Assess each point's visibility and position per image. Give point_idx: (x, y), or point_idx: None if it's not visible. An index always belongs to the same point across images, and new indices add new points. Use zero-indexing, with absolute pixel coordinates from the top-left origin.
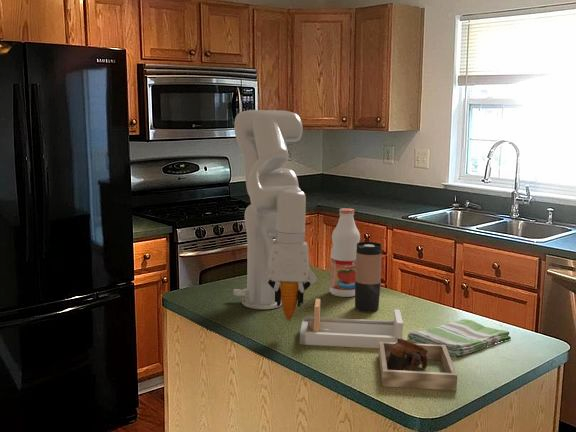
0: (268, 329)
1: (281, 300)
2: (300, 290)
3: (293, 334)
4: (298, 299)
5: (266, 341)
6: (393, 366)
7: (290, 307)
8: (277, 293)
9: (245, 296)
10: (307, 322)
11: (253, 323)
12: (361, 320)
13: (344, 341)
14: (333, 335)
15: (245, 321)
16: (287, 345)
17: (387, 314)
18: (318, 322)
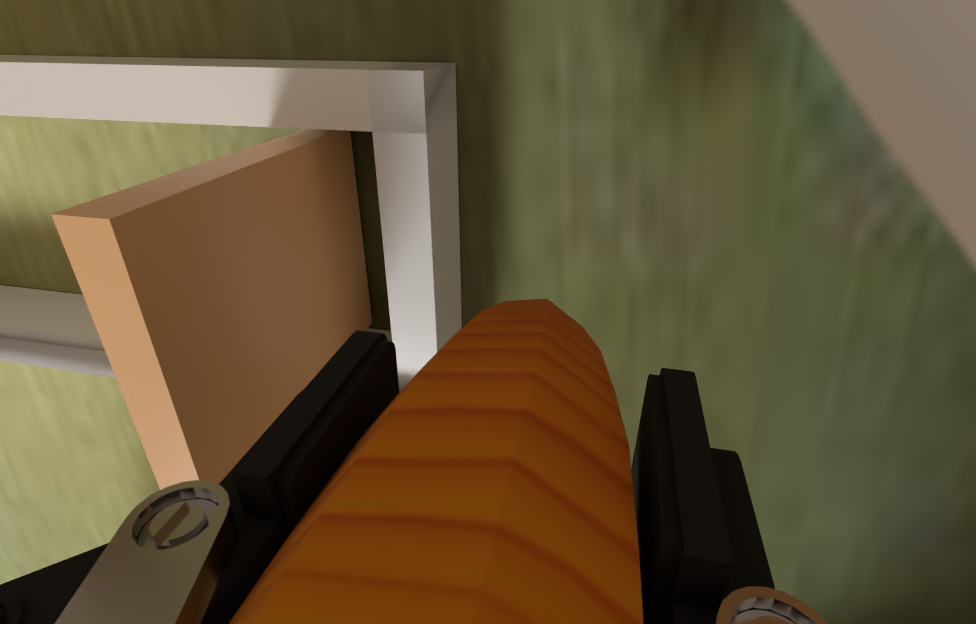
0: (719, 380)
1: (622, 426)
2: (216, 528)
3: (521, 286)
4: (331, 394)
5: (764, 106)
6: None
7: (488, 325)
8: (719, 525)
9: None
10: (396, 355)
11: (832, 490)
12: (29, 353)
13: (89, 59)
14: (130, 63)
15: (893, 527)
16: (561, 20)
17: (95, 546)
18: (211, 161)
